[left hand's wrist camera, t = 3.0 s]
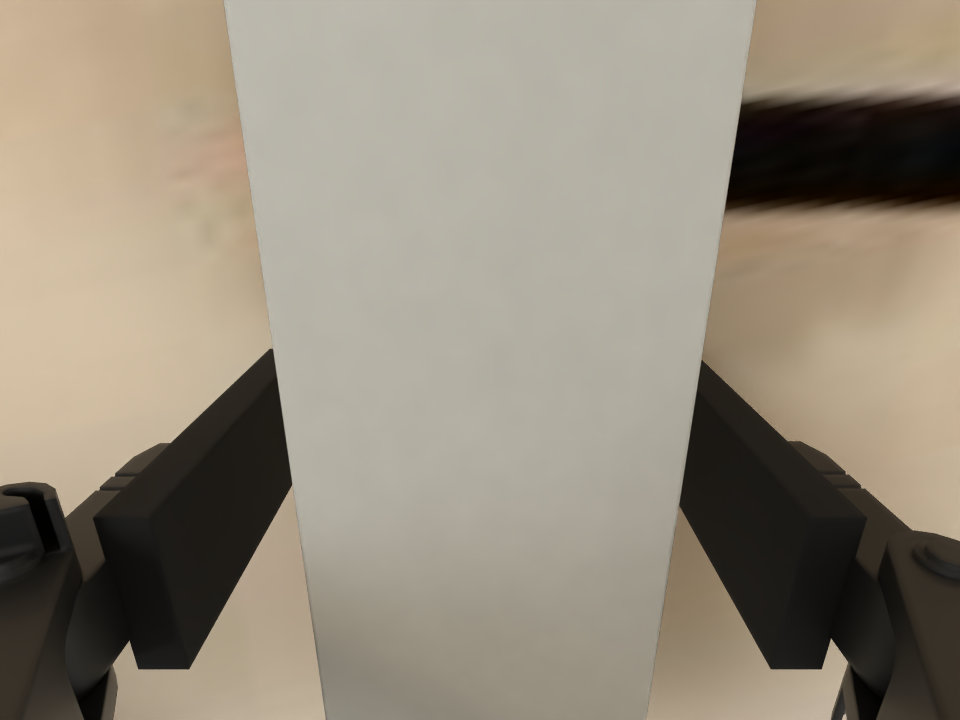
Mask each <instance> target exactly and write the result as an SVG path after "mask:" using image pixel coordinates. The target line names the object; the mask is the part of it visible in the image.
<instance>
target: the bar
mask: <svg viewBox="0 0 960 720" xmlns="http://www.w3.org/2000/svg"><path fill="white" fill-rule="evenodd" d="M223 1H224V8H225V15H226V22H227V29H228V36H229V43H230V50H231V57H232V64H233V71H234V78H235V85H236V92H237V99H238V106H239V113H240V120H241V127H242V134H243V141H244V148H245V155H246V162H247V169H248V176H249V183H250V190H251V197H252V204H253V211H254V218H255V225H256V232H257V239H258V246H259V253H260V260H261V267H262V274H263V281H264V288H265V295H266V302H267V309H268V316H269V323H270V330H271V337H272V344H273V351H274V358H275V365H276V372H277V379H278V386H279V393H280V400H281V407H282V414H283V421H284V428H285V435H286V442H287V449H288V456H289V463H290V470H291V477H292V484H293V491H294V498H295V505H296V512H297V519H298V526H299V534H300V541H301V548H302V555H303V562H304V569H305V576H306V583H307V590H308V597H309V604H310V611H311V618H312V625H313V632H314V639H315V646H316V653H317V660H318V667H319V674H320V681H321V688H322V695H323V702H324V709H325V716H326V720H646V717H647V710H648V704H649V697H650V691H651V684H652V678H653V671H654V665H655V658H656V652H657V645H658V639H659V632H660V626H661V619H662V613H663V606H664V600H665V593H666V587H667V580H668V574H669V567H670V561H671V554H672V548H673V541H674V535H675V528H676V522H677V515H678V509H679V502H680V496H681V489H682V483H683V476H684V470H685V463H686V457H687V450H688V444H689V437H690V431H691V424H692V418H693V411H694V405H695V398H696V392H697V385H698V379H699V372H700V366H701V359H702V353H703V346H704V340H705V333H706V327H707V320H708V314H709V307H710V301H711V294H712V288H713V281H714V275H715V268H716V262H717V255H718V249H719V242H720V236H721V229H722V223H723V216H724V210H725V203H726V197H727V190H728V184H729V177H730V171H731V164H732V158H733V151H734V145H735V138H736V132H737V125H738V119H739V112H740V106H741V99H742V93H743V86H744V80H745V73H746V67H747V60H748V54H749V47H750V41H751V34H752V28H753V21H754V15H755V8H756V2H757V0H223Z"/></svg>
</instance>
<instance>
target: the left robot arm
mask: <svg viewBox="0 0 960 720" xmlns="http://www.w3.org/2000/svg"><path fill="white" fill-rule="evenodd" d="M291 486H292V477H291V470H290V463H289V456H288V449H287V442H286V435H285V428H284V421H283V414H282V407H281V400H280V393H279V386H278V379H277V372H276V365H275V358H274V351H273V349H269V350H268V351H267V352H266V353H265V354H264V355H263V356H262V357H261V358H260V359H259V360H258V361H257V362H256V363H255V364H254V365H252V366H251V367H250V368H249V369H248V370H247V371H246V372H245V373H244V374H243V375H242V376H241V377H240V378H239V379H238V380H237V381H236V382H235V383H234V384H232V385H231V386H230V387H229V388H228V389H227V390H226V391H225V392H224V393H223V394H222V395H221V396H220V397H219V398H218V399H217V400H216V401H215V402H214V403H212V404H211V405H210V406H209V407H208V408H207V409H206V410H205V411H204V412H203V413H202V414H201V415H200V416H199V417H198V418H197V419H196V420H195V421H194V422H193V423H191V424H190V425H189V426H188V427H187V428H186V429H185V430H184V431H183V432H182V433H181V434H180V435H179V436H178V437H177V438H176V439H175V440H174V441H173V442H171V443H159V444H158V445H156V446H154V447H152V448H150V449H148V450H146V451H144V452H142V453H141V454H139V455H137V456H135V457H133V458H132V459H131V460H130V461H129V462H128V463H127V464H125V465H124V466H123V467H122V468H121V469H120V470H119V471H118V472H116V473H115V477H111V478H110V479H109V480H107V481H106V482H105V483H104V484H103V485H102V486H101V487H100V490H99V491H95V492H94V493H93V494H92V495H91V496H89V497H88V498H87V499H86V500H85V501H84V502H83V503H82V504H80V505H79V506H78V507H77V508H76V509H75V510H74V511H73V512H71V513H70V514H69V515H68V516H67V517H66V518H65V517H64V514H63V511H62V508H61V505H60V502H59V499H58V496H57V493H56V489H55V488H53V487H51V486H50V485H48V484H46V483H36V482H25V483H16V484H8V485H4V486H0V720H113V717H114V711H115V704H116V697H117V690H118V686H117V679H116V674H115V671H114V668H113V665H112V664H113V663H114V661H115V660H116V658H117V657H118V656H119V654H120V653H121V651H122V650H123V649H124V647H125V646H126V644H127V643H128V642H129V640H130V643H131V647H132V650H133V653H134V656H135V660H136V663H137V666H138V669H189V668H190V667H191V665H192V663H193V661H194V660H195V658H196V656H197V654H198V652H199V651H200V649H201V647H202V645H203V643H204V642H205V640H206V638H207V636H208V634H209V633H210V631H211V629H212V627H213V626H214V624H215V622H216V620H217V618H218V617H219V615H220V613H221V611H222V609H223V608H224V606H225V604H226V602H227V601H228V599H229V597H230V595H231V593H232V592H233V590H234V588H235V586H236V584H237V583H238V581H239V579H240V577H241V576H242V574H243V572H244V570H245V568H246V567H247V565H248V563H249V561H250V559H251V558H252V556H253V554H254V552H255V550H256V549H257V547H258V545H259V543H260V542H261V540H262V538H263V536H264V534H265V533H266V531H267V529H268V527H269V525H270V524H271V522H272V520H273V518H274V517H275V515H276V513H277V511H278V509H279V508H280V506H281V504H282V502H283V500H284V499H285V497H286V495H287V493H288V491H289V490H290V488H291ZM679 506H680V508H681V509H682V511H683V513H684V515H685V517H686V518H687V520H688V522H689V524H690V525H691V527H692V529H693V531H694V533H695V534H696V536H697V538H698V540H699V542H700V543H701V545H702V547H703V549H704V550H705V552H706V554H707V556H708V558H709V559H710V561H711V563H712V565H713V567H714V568H715V570H716V572H717V574H718V576H719V577H720V579H721V581H722V583H723V584H724V586H725V588H726V590H727V592H728V593H729V595H730V597H731V599H732V601H733V602H734V604H735V606H736V608H737V609H738V611H739V613H740V615H741V617H742V618H743V620H744V622H745V624H746V626H747V627H748V629H749V631H750V633H751V635H752V636H753V638H754V640H755V642H756V643H757V645H758V647H759V649H760V651H761V652H762V654H763V656H764V658H765V660H766V661H767V663H768V665H769V667H770V668H771V669H822V666H823V663H824V660H825V656H826V653H827V650H828V647H829V643H830V640H831V639H832V640H833V641H834V643H835V644H836V646H837V647H838V648H839V650H840V651H841V653H842V654H843V655H844V657H845V658H846V660H847V661H848V665H847V668H846V671H845V674H844V677H843V680H842V684H841V687H840V690H839V693H838V696H837V699H836V702H835V705H834V708H833V711H832V717H831V720H842V717H843V715H844V714H846V716H847V720H960V541H958V540H954V539H951V538H948V537H945V536H941V535H938V534H935V533H928V532H921V531H912V530H911V529H910V528H909V527H908V526H907V525H905V524H904V523H903V522H902V521H901V520H900V519H899V518H897V517H896V516H895V515H894V514H893V513H892V512H891V511H890V510H888V509H887V508H886V507H885V506H884V505H883V504H882V503H880V502H879V501H878V500H877V499H876V498H875V497H874V496H873V495H871V494H870V493H869V492H868V491H867V490H866V489H861V485H860V484H859V483H858V482H857V481H856V480H854V479H853V478H852V477H851V476H850V475H846V474H845V471H844V470H843V469H842V468H841V467H840V466H839V465H837V464H836V463H835V462H834V461H833V460H832V459H831V458H829V457H828V456H827V455H825V454H824V453H822V452H820V451H818V450H816V449H814V448H812V447H810V446H808V445H806V444H805V443H803V442H801V441H786V440H785V439H784V438H783V437H782V436H781V435H780V434H779V433H778V432H777V431H776V430H775V429H774V428H773V427H772V426H771V425H770V424H769V423H767V422H766V421H765V420H764V419H763V418H762V417H761V416H760V415H759V414H758V413H757V412H756V411H755V410H754V409H753V408H752V407H751V406H750V405H749V404H747V403H746V402H745V401H744V400H743V399H742V398H741V397H740V396H739V395H738V394H737V393H736V392H735V391H734V390H733V389H732V388H731V387H730V386H729V385H728V384H726V383H725V382H724V381H723V380H722V379H721V378H720V377H719V376H718V375H717V374H716V373H715V372H714V371H713V370H712V369H711V368H710V367H709V366H708V365H706V364H705V363H704V362H703V361H702V360H701V366H700V372H699V379H698V385H697V392H696V398H695V405H694V411H693V418H692V424H691V431H690V437H689V444H688V450H687V457H686V463H685V470H684V476H683V483H682V489H681V496H680V502H679Z"/></svg>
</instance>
